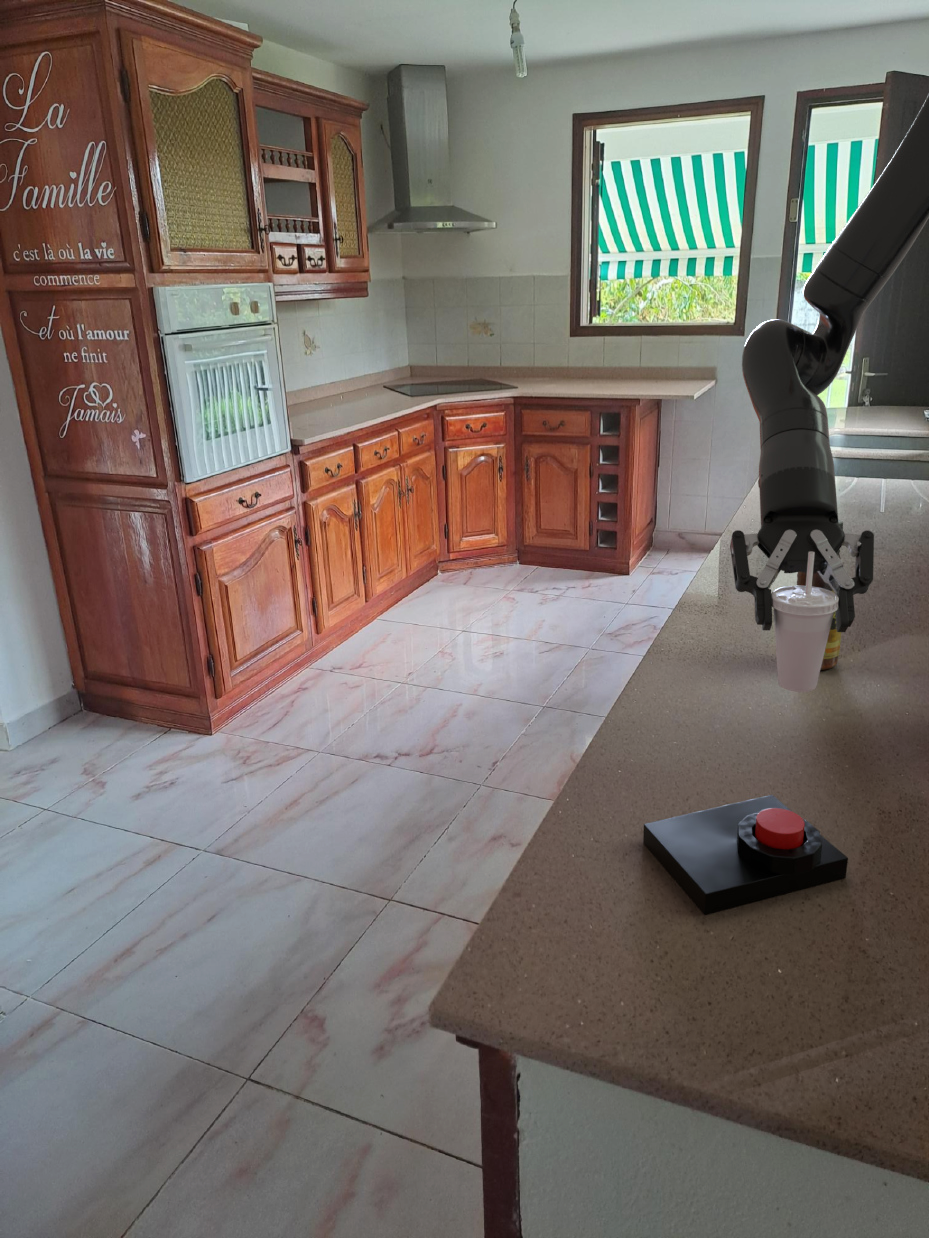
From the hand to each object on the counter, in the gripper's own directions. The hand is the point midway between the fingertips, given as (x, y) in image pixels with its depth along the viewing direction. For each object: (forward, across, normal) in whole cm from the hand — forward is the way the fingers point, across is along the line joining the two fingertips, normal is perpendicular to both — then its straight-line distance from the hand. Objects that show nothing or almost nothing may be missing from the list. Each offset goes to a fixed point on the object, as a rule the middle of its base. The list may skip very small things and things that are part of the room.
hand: (805, 628), depth 86 cm
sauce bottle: (-10, +7, +35) cm, 37 cm away
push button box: (+23, -6, +2) cm, 24 cm away
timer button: (+21, -3, -2) cm, 21 cm away
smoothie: (+4, 0, +6) cm, 7 cm away
